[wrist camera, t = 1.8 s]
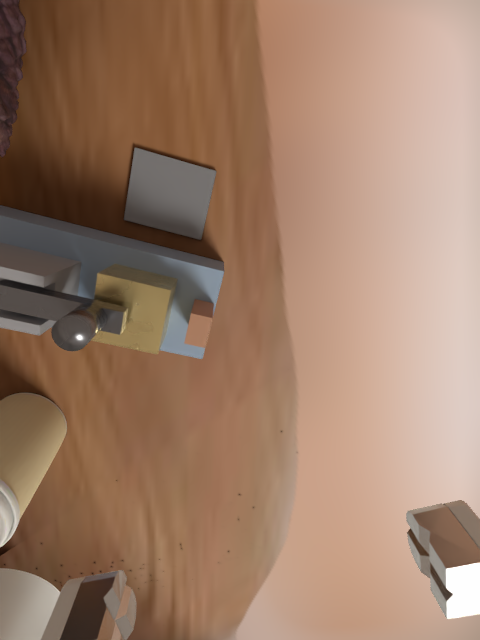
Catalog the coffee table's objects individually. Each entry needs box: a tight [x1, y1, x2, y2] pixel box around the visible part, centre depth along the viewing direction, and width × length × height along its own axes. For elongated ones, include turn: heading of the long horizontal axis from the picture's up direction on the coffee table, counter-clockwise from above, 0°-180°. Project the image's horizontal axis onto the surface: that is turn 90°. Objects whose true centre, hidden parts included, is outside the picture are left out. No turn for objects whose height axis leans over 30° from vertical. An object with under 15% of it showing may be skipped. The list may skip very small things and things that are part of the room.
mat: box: [124, 148, 216, 240], centre depth 30 cm, size 6×7×1 cm
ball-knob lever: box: [0, 279, 129, 351], centre depth 21 cm, size 2×8×4 cm, turn 75°
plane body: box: [0, 205, 224, 359], centre depth 27 cm, size 8×20×11 cm, turn 75°
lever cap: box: [91, 264, 178, 354], centre depth 26 cm, size 5×5×4 cm
